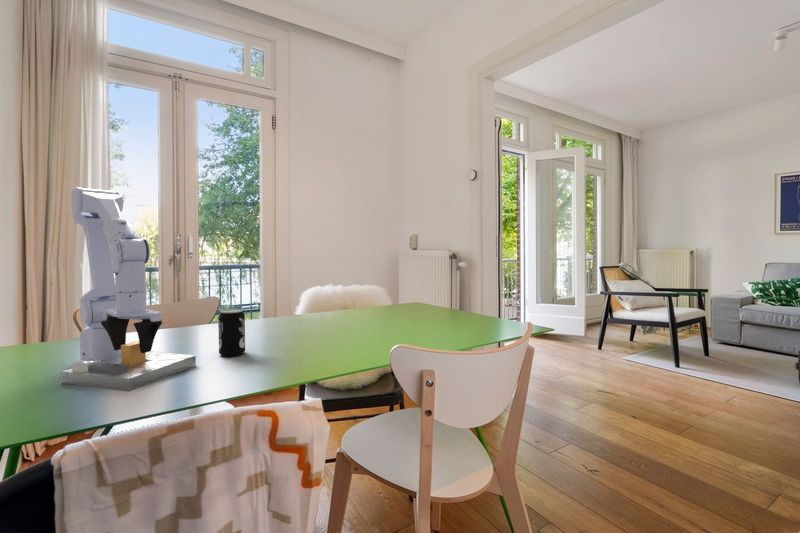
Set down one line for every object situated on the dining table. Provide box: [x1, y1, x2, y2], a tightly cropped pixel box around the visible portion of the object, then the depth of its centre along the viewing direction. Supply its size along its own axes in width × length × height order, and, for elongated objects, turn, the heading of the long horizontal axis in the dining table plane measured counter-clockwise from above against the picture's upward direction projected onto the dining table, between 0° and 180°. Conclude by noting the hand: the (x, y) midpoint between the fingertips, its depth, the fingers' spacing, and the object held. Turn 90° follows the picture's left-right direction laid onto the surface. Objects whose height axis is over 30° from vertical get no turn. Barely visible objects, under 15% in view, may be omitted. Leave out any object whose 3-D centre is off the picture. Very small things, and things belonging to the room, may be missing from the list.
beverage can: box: [217, 308, 246, 358], centre depth 107 cm, size 7×7×12 cm
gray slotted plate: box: [60, 350, 197, 392], centre depth 91 cm, size 18×18×4 cm
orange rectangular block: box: [121, 340, 146, 367], centre depth 91 cm, size 2×4×7 cm, turn 165°
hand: (132, 350), depth 91 cm, fingers open, 7 cm apart
